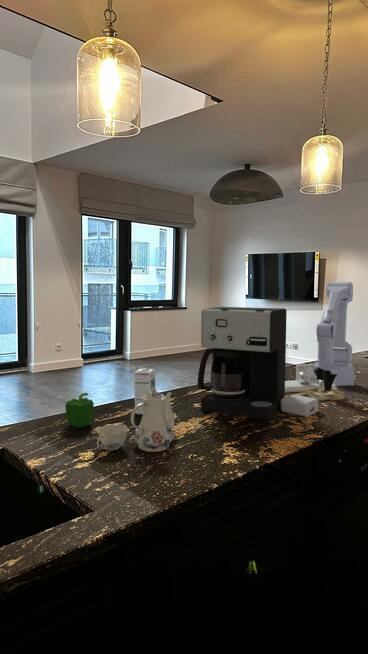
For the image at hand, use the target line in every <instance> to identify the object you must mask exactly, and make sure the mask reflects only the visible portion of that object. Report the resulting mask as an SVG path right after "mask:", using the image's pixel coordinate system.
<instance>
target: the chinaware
mask: <svg viewBox="0 0 368 654" xmlns="http://www.w3.org/2000/svg"><path fill="white" fill-rule="evenodd" d="M172 393H173V392H170V391H169V392H167V393H166V395H163V394H161V393H160V392H159V391H158V390H157V389H156V386H155V387H153V388H152V389H151V392H149V393H148V394H147V395H144V396H142V399H143V403H141V404H138V405H137V406H136V407H135V406H134V408H133V409H132V412H131V415H130V423H131V425H132V426H133V428H134V429H135V432H134V433H133V440H134V441H135V443H137V445H138V449H140V451H144V452H151V453H152V452H153V453H155V452H157V453H158V452H162V451H166V450H168V449H169V448H170V447H171V444H170V443H172V441H173V440H174V438H175V433H174V428H177V427H179V425H180V423H181V419H180V418H179V417H178V416H177V414H176V413H174V411H173V408H172V404H171V396H172ZM142 405H144V406H142ZM140 406H141V409H142V410H143V414H142V416H141V420H140V423H139V426H138V425H136V423H135V414H136V413H135V412H136V410H137V409H138V408H139V407H140ZM176 419H178V423H177V424H176V425H175V420H176ZM95 430H96V433H97V434H98V436H99V438H98V439H97V441H96V447H97V448H98V449H99V450H103V449H104V450H105V451H106V450H110V451H111V452H112V451H116V450H118V451H119V448H120V447H121V446H122V445H123V443H124V442H125V440H126V439H127V435H128V433H129V432H130V431H131V430H130V428H129V427H128V426H127V425H125V424H119V425H116V424H110V423H108V424H105V425H104V426H102V427H97V428H96V429H95ZM100 442H101V444H103V446H101V447H100V444H99V443H100Z"/></svg>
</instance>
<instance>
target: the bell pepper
mask: <svg viewBox="0 0 368 654" xmlns="http://www.w3.org/2000/svg"><path fill="white" fill-rule="evenodd" d="M88 395H89V393H88V392H82V393H81V394H79V396H78V399H76V398H72V399H70V400H68V401H66V402H65V406H64V408H65V414H66V419H67V422H68V424H69V425H70V426H71V427H73V428H76V429H82V428H85V427H87V426H88V425H90V424H91V423H92V418H93V414H94V411H95V408H94V406H95V404H94V401H93V399H89V398H87V396H88ZM84 396H85V397H84Z"/></svg>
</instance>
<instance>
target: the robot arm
mask: <svg viewBox="0 0 368 654" xmlns="http://www.w3.org/2000/svg"><path fill="white" fill-rule="evenodd" d="M353 293H354V284H353V282H352V281H348V282H347V281H346V282H345V281H343V282H342V281H341V282H340V281H339V282H337V281H336V282H334V281H332V282H331V281H328V282H327V283H326V289H325V294H326V296H327V298H328V304H327V308H325V309H324V310H323V314H322V317H321V320H320V323H317V325H316V330H315V331H316V341H317V361H316V362H315V361H314V363H313V364H314V367H316V369H314V373H315V375H316V378H317V382H318V379H323V380H324V389H325V391H331V388H332V385H333V386H335V387H344V386H345V387H346V386H348V387H349V386H356V385H355V367H354V365H353V364H352V361H353V346H352V345H351V344H350V343H349V342H348V341H347V340H346V339H347V338H346V336H347V335H346V334H347V314H348V305H349V303H351V302H352V301H353V299H354V297H353V295H354V294H353Z"/></svg>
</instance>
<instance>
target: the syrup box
mask: <svg viewBox="0 0 368 654" xmlns="http://www.w3.org/2000/svg"><path fill="white" fill-rule="evenodd" d="M133 382H134V384H133V385H134V388H133V389H134V408H135V407H136V406H137V405H138V404H141V403H143V399H142V396H144V395H147V394H148V393H149V392H151V389H152V388H153V387H155V388H156V369H154V368H145V367H144V368H139V369H137V370H136V371H135V370H134V371H133ZM142 406H144V405H142ZM135 414H136V415H143V410H142V409H141V406H140V407H139V408H138V409H137V410H136V412H135Z"/></svg>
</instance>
